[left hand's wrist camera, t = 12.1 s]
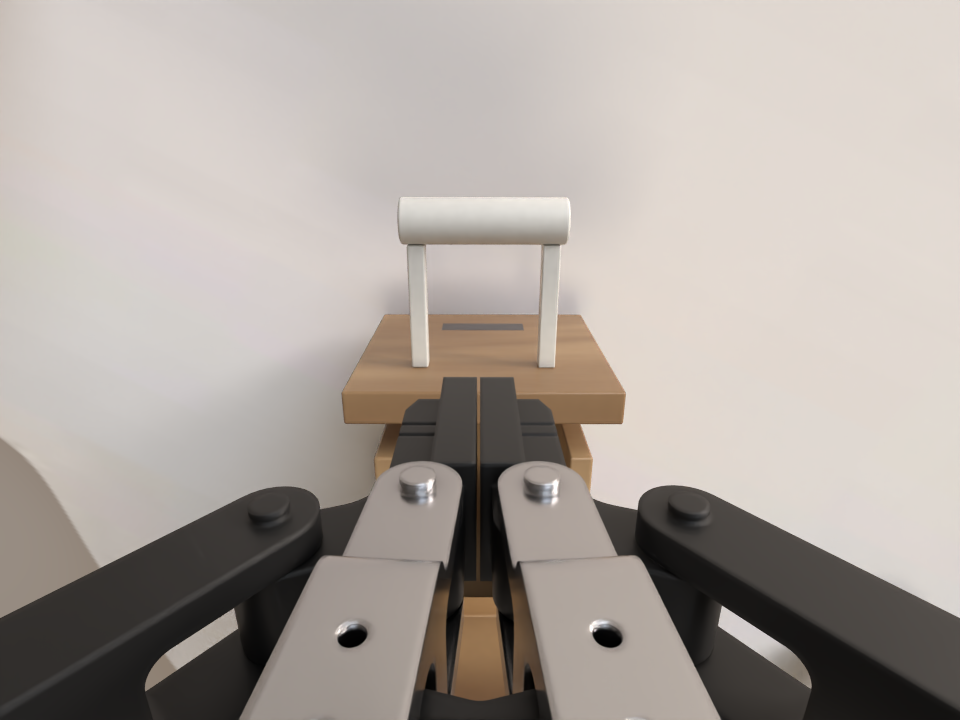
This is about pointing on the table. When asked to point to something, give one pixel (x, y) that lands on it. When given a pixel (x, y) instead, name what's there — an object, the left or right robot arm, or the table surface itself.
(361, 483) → the table surface
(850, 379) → the table surface
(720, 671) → the left robot arm
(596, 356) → the drawer
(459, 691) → the cabinet
